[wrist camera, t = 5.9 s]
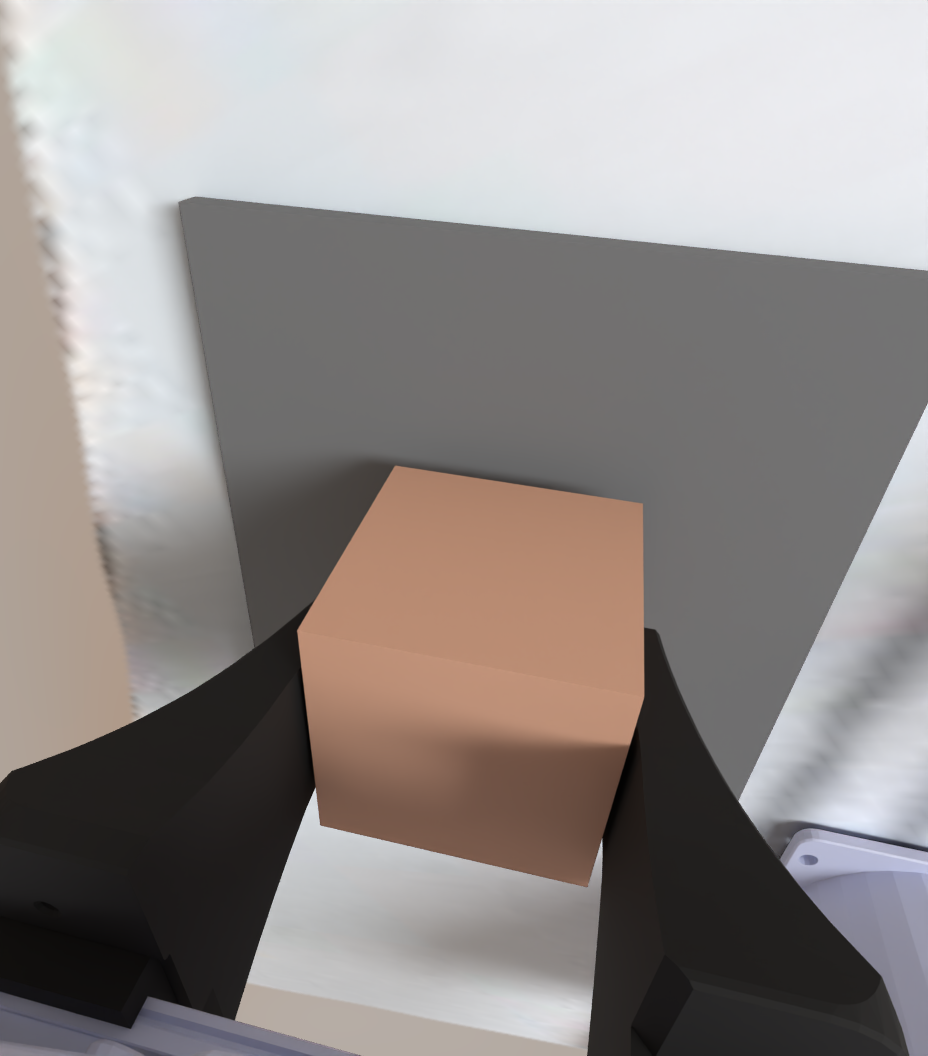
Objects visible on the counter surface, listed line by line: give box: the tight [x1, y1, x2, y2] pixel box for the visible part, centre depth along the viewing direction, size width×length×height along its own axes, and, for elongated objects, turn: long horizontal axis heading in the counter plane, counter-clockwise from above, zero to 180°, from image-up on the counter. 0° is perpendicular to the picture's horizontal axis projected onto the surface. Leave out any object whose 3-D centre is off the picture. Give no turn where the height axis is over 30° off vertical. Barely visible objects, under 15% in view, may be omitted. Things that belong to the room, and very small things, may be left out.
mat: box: [179, 197, 928, 800], centre depth 16 cm, size 14×14×1 cm
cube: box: [297, 466, 644, 887], centre depth 13 cm, size 5×5×5 cm
